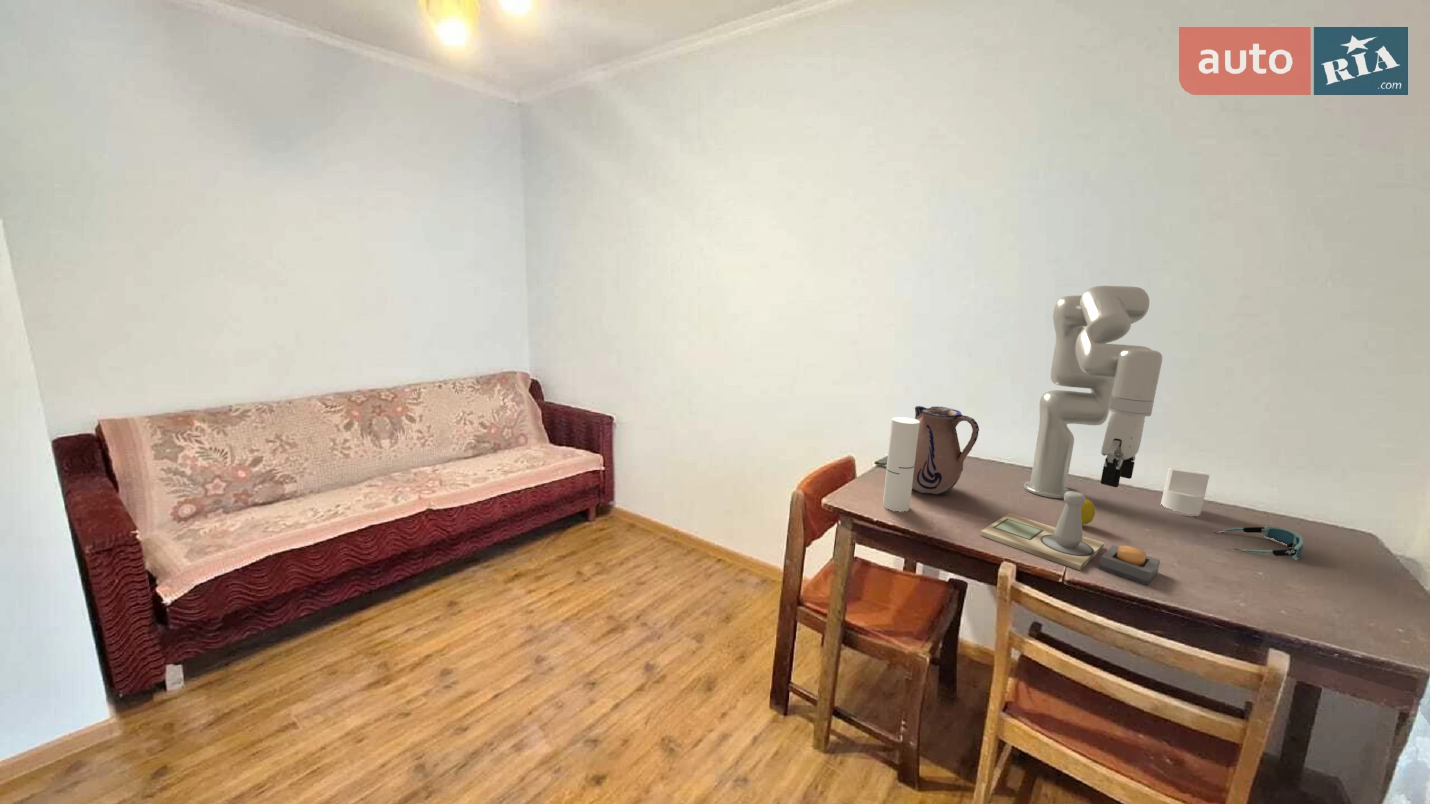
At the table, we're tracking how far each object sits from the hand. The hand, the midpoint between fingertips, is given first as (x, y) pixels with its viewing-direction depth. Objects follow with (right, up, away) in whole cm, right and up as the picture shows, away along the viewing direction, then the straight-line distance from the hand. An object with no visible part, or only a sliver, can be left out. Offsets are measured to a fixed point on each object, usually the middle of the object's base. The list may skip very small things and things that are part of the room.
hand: (1116, 481), depth 125 cm
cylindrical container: (-39, -12, +32) cm, 52 cm away
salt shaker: (-5, -17, +10) cm, 20 cm away
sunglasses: (+47, -19, +16) cm, 53 cm away
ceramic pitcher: (-23, -9, +45) cm, 52 cm away
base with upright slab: (+45, -14, +37) cm, 60 cm away
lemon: (+7, -15, +24) cm, 29 cm away
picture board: (-9, -17, +14) cm, 23 cm away
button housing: (+3, -20, 0) cm, 20 cm away
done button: (+3, -18, 0) cm, 18 cm away
